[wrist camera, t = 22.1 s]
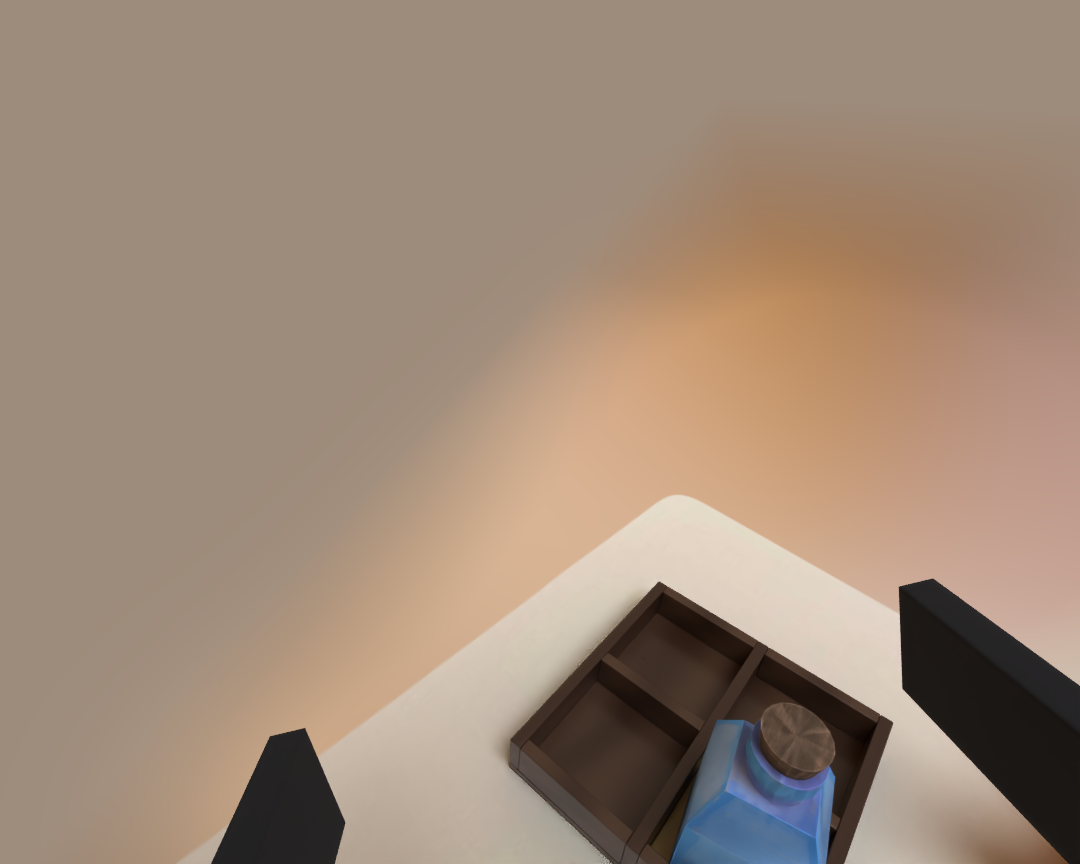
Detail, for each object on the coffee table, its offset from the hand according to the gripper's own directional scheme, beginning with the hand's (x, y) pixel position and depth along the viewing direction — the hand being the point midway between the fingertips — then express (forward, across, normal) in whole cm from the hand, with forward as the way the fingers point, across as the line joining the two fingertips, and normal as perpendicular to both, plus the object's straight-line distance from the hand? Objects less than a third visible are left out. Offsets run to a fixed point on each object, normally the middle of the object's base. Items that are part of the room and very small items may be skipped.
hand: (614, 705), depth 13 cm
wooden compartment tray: (+19, +5, -23) cm, 31 cm away
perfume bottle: (+13, +5, -24) cm, 28 cm away
